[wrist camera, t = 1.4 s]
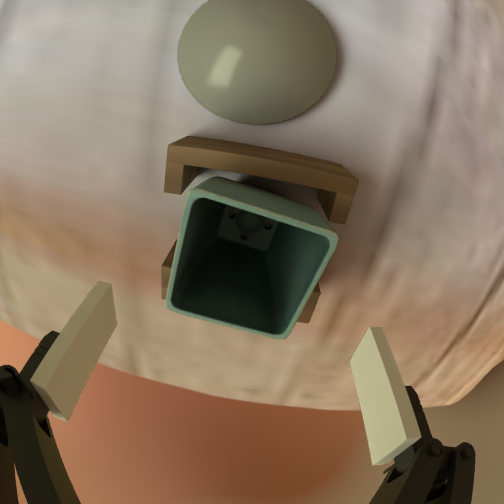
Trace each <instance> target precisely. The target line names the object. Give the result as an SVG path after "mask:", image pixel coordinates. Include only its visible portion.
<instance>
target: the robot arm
mask: <svg viewBox="0 0 504 504" xmlns="http://www.w3.org/2000/svg"><path fill="white" fill-rule="evenodd" d="M116 326H117V319H116V313H115V306H114V299H113V292H112V284H110V283H106V282H102V281H98V282H97V283H96V285H95V286H94V287H93V289H92V290H91V291H90V293H89V294H88V295H87V297H86V298H85V299H84V301H83V302H82V303H81V305H80V306H79V307H78V309H77V310H76V311H75V313H74V314H73V316H72V317H71V318H70V320H69V321H68V323H67V324H66V325H65V327H64V328H63V330H62V331H61V333H58V332H55V331H51V332H50V333H48V334H47V335H46V336H44V338H43V339H42V340H41V342H40V343H39V346H38V347H37V348H36V349H35V351H34V353H33V354H32V355H31V357H30V358H29V360H28V361H27V363H26V364H25V366H24V367H23V369H22V371H21V372H20V374H19V373H18V371H17V370H16V369H15V368H14V367H13V366H11V365H3V366H0V504H19V502H18V496H17V488H16V480H15V468H14V463H15V467H16V470H17V474H18V477H19V480H20V483H21V486H22V489H23V491H24V495H25V497H26V500H27V503H28V504H81V503H80V501H79V499H78V497H77V495H76V493H75V490H74V488H73V486H72V484H71V481H70V479H69V477H68V474H67V472H66V469H65V467H64V464H63V462H62V459H61V456H60V453H59V450H58V448H57V445H56V442H55V439H54V435H53V432H52V429H51V426H50V422H49V419H48V417H47V414H48V412H49V410H50V411H51V413H52V414H53V416H55V417H57V418H59V419H61V420H63V421H65V422H68V421H69V419H70V417H71V415H72V413H73V410H74V408H75V406H76V404H77V402H78V399H79V397H80V395H81V393H82V391H83V389H84V387H85V385H86V383H87V381H88V379H89V377H90V375H91V373H92V371H93V369H94V367H95V365H96V363H97V361H98V359H99V357H100V355H101V353H102V351H103V349H104V348H105V346H106V344H107V342H108V340H109V338H110V336H111V335H112V333H113V331H114V329H115V327H116ZM350 364H351V368H352V372H353V376H354V380H355V384H356V389H357V393H358V397H359V401H360V406H361V410H362V415H363V419H364V424H365V429H366V434H367V439H368V444H369V448H370V454H371V459H372V465H373V466H374V465H380V464H386V463H388V462H389V461H391V460H392V459H394V462H395V464H393V465H392V466H390V467H389V468H387V469H386V470H385V471H384V472H383V473H384V474H385V473H386V472H388V471H389V472H388V474H387V476H386V477H385V479H384V481H383V483H382V484H381V486H380V487H379V489H378V491H377V492H376V494H375V495H374V497H373V498H372V500H371V502H370V503H369V504H471V499H472V491H473V483H474V472H475V450H474V448H473V446H472V445H470V444H469V443H466V442H463V443H461V444H460V445H458V446H457V447H447V446H443V445H442V443H441V442H440V441H439V440H438V439H435V438H432V435H431V433H430V429H429V426H428V423H427V420H426V417H425V414H424V412H423V411H422V410H423V409H422V406H421V404H420V400H419V397H418V395H417V393H416V392H415V390H414V389H413V388H412V387H411V386H405V385H404V383H403V380H402V377H401V374H400V372H399V369H398V366H397V364H396V361H395V359H394V356H393V354H392V351H391V349H390V346H389V344H388V341H387V339H386V336H385V334H384V332H383V329H382V328H381V327H369V328H368V330H367V332H366V334H365V336H364V338H363V339H362V341H361V343H360V345H359V346H358V348H357V350H356V352H355V353H354V355H353V357H352V358H351V360H350ZM446 481H447V484H446Z"/></svg>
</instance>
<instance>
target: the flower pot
mask: <svg viewBox="0 0 504 504" xmlns="http://www.w3.org/2000/svg"><path fill="white" fill-rule="evenodd" d="M230 212H234V214H235V216H234V217H230V216H229V213H230ZM266 223H269V224H270V228H265V224H266ZM242 234H246V235H247V238H246V239H243V238H242V237H241V235H242ZM338 241H339V236H338V235H337V234H336V232H335V231H334V230H333V229H332V228H331V227H330V226H329V224H328V223H327V222H326V221H325V220H324V219H323V218H322V217H321V216H320V215H319V214H318V213H317V212H316V211H315V210H314V209H313V208H311V207H310V206H308V205H306V204H303V203H301V202H298V201H295V200H292V199H289V198H286V197H283V196H280V195H277V194H274V193H271V192H267V191H264V190H261V189H258V188H255V187H252V186H249V185H246V184H242V183H239V182H236V181H233V180H230V179H227V178H223V177H212V178H210V179H208V180H206V181H204V182H202V183H201V184H199V185H198V186H196V187H195V188H193V189H191V190H190V191H189V193H188V195H187V197H186V200H185V205H184V210H183V215H182V220H181V224H180V230H179V234H178V239H177V244H176V249H175V253H174V259H173V264H172V268H171V273H170V278H169V283H168V289H167V294H166V299H165V305H166V308H167V309H168V310H171V311H173V312H176V313H179V314H183V315H186V316H190V317H193V318H197V319H201V320H204V321H209V322H212V323H216V324H219V325H223V326H227V327H231V328H235V329H239V330H243V331H247V332H251V333H255V334H258V335H263V336H266V337H270V338H274V339H286V338H287V337H288V336H289V334H290V333H291V331H292V329H293V327H294V325H295V323H296V322H297V320H298V318H299V316H300V314H301V312H302V310H303V309H304V307H305V305H306V303H307V301H308V299H309V298H310V296H311V294H312V292H313V290H314V288H315V286H316V284H317V282H318V281H319V279H320V277H321V275H322V273H323V272H324V270H325V268H326V266H327V264H328V262H329V260H330V258H331V257H332V255H333V253H334V251H335V249H336V248H337V244H338Z"/></svg>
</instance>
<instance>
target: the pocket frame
mask: <svg viewBox="0 0 504 504" xmlns="http://www.w3.org/2000/svg"><path fill="white" fill-rule="evenodd" d="M198 167H204V168H211V169H218V170H224V171H230V172H236V173H242V174H248V175H254V176H259V177H265V178H270V179H275V180H281V181H286V182H291V183H295V184H300V185H305V186H310V187H314V188H319V193H318V197H317V199H318V201H319V203H320V204H321V206H322V208H323V210H324V212H325V214H326V216H327V218H328V220H329V221H330V222H335V223H340V224H344V225H345V222H346V219H347V216H348V213H349V210H350V207H351V203H352V200H353V197H354V193H355V190H356V187H357V183H358V179H356V178H355V177H354V176H353V175H352V174H351V173H350V172H349V171H348V170H346V169H345V168H344V167H343V166H342V165H341V164H337V163H333V162H329V161H325V160H321V159H317V158H313V157H308V156H304V155H299V154H295V153H290V152H285V151H280V150H275V149H270V148H265V147H259V146H254V145H248V144H242V143H236V142H229V141H222V140H215V139H208V138H200V137H192V136H186V137H184V138H182V139H180V140H178V141H176V142H173V143H171V144H169V145H168V151H167V161H166V173H165V187H164V192H166V193H173V194H179V195H181V194H182V193H183V191H184V190H185V189H186V188H187V187H188V186H189V185H190V183H191V182H192V181H193V180H194V179H195V178H196V177H197V171H198ZM177 239H178V238H177ZM176 244H177V240H176V242H175V243H174V245H173V247H172V249H171V250H170V252H169V254H168V256H167V257H166V259H165V261H164V263H163V264H162V299H166V294H167V289H168V283H169V278H170V273H171V268H172V264H173V259H174V253H175V249H176ZM320 294H321V292H320V288H319V284H318V282H317V284H316V286H315V288H314V290H313V292H312V294H311V296H310V298H309V299H308V301H307V303H306V305H305V307H304V309H303V310H302V312H301V314H300V316H299V318H298V320H297V322H303V323H309V322H310V319H311V317H312V314H313V312H314V309H315V306H316V304H317V301H318V299H319V296H320Z"/></svg>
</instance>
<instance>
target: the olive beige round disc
mask: <svg viewBox="0 0 504 504" xmlns="http://www.w3.org/2000/svg"><path fill="white" fill-rule="evenodd" d="M177 54H178V66H179V71H180V74H181V77H182V80H183V82H184V84H185V86H186V88H187V89H188V90H189V92H190V93H191V95H192V96H193V97H194V98H195V99H196V100H197V101H198V102H199V103H200V104H201V105H202V106H204V107H205V108H206V109H208V110H209V111H211V112H212V113H214V114H216V115H218V116H220V117H222V118H225V119H228V120H231V121H234V122H239V123H244V124H270V123H276V122H280V121H284V120H287V119H289V118H292V117H294V116H296V115H298V114H300V113H302V112H304V111H305V110H307V109H308V108H310V107H311V106H312V105H313V104H314V103H315V102H317V101H318V100H319V99H320V97H321V96H322V95H323V94H324V93H325V91H326V89H327V88H328V86H329V85H330V82H331V80H332V78H333V75H334V72H335V68H336V61H337V50H336V44H335V39H334V36H333V34H332V31H331V29H330V27H329V25H328V23H327V22H326V20H325V19H324V18H323V16H322V15H321V14H320V13H319V12H318V11H317V10H316V8H314V7H313V6H312V5H311V4H310V3H308V2H307V1H305V0H209V1H207V2H206V3H204V4H203V5H202V6H201V7H200V8H199V9H198V10H196V11H195V13H194V14H193V15H192V16H191V18H190V19H189V20H188V22H187V24H186V25H185V27H184V29H183V31H182V34H181V37H180V40H179V44H178V52H177Z"/></svg>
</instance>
